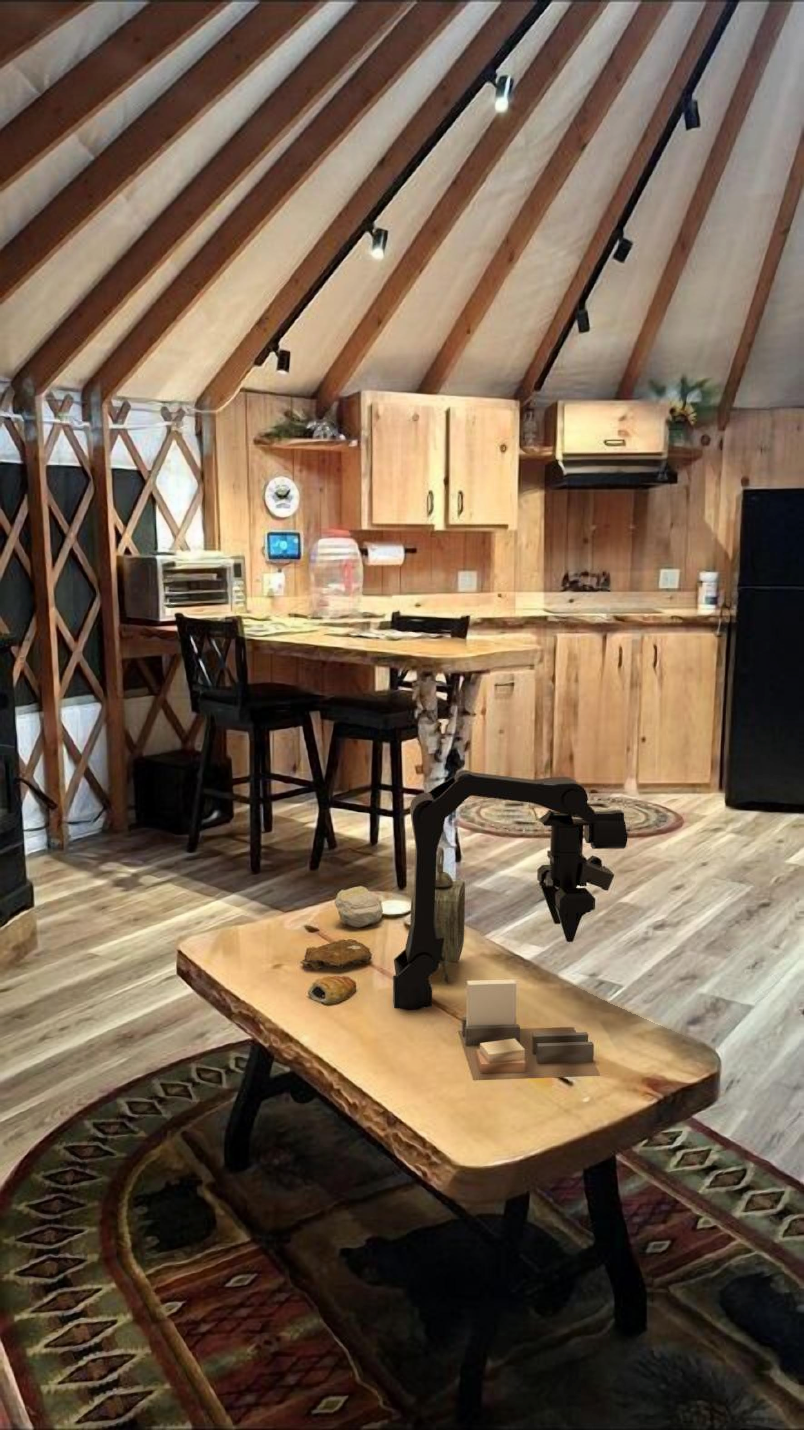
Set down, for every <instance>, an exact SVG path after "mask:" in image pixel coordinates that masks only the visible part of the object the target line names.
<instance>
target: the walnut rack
mask: <svg viewBox="0 0 804 1430" xmlns="http://www.w3.org/2000/svg"><path fill="white" fill-rule="evenodd" d="M466 1017H467V1016H463V1017H462V1018H461V1020H462V1021H461V1024H462V1025H461V1030H457V1032H458V1035H459V1039H460V1042H461V1045H462V1049H463V1052H464V1055H465V1057H466V1061H467V1065H468V1068H469V1071H470V1074H471V1077H472V1080H473V1081H488V1080H489V1081H491V1080H494V1081H495V1080H517V1079H518V1080H519V1079H523V1080H524V1079H544V1078H545V1079H546V1078H574V1077H600V1076H602V1075H601V1073H600V1071H599V1070H598V1068H597V1066H596V1065H595V1062H594V1056H595V1055H594V1054H595V1053H594V1052H595V1051H594V1050H595V1049H594V1048H595V1045H594V1044H595V1043H594V1042H593V1041H589V1034H588V1032H587V1031H582V1032H581V1031H579V1032H577V1031H576V1029H575V1027H574V1026H566V1027H565V1026H563V1027H562V1026H561V1027H560V1026H559V1027H534V1028H533V1027H532V1028H531V1027H530V1028H529V1027H528V1028H521V1026H520V1024H518V1023H517V1021H516V1022H515V1025H485V1026H466ZM507 1039H516V1040H517V1042H518V1043H519V1044H520V1045H521V1046H522V1047H523V1048H524V1049H525V1059H524V1061H525V1072H505V1073H481V1072H480V1069H479V1066H478V1063H477V1060H476V1049H480V1043H485V1042H493V1041H500V1040H507Z"/></svg>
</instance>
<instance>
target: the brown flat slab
mask: <svg viewBox="0 0 804 1430" xmlns="http://www.w3.org/2000/svg"><path fill="white" fill-rule="evenodd" d="M372 956H373V954H372V952H371V951H370V948H369V947H368V946H366V945H365V944H364V943H361V942H359V941H357V940H356V939H352V938H351V939H350V938H349V939H339V940H337V941H333V942H329V943H326V944H323V945H321V946H317V947H316V946H311V947H307V948H306V950H305V953H304V956H303V957H304V959H302V960H301V961H300V962H299V963H300V964H302V966H303V968H307V969H308V968H310V970H312V971H313V970H314V971H315V970H316V971H317V970H318V969H320V968H325V967H329V968H333V969H336V968H341V967H342V968H343V966H345V965H354V964H363V963H365V964H364V965H369V963H370V961H371V959H372Z"/></svg>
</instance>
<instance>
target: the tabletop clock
mask: <svg viewBox="0 0 804 1430" xmlns="http://www.w3.org/2000/svg"><path fill="white" fill-rule="evenodd" d="M437 853H438V854H437V859H436V886H435V914H434V927H435V928H438V927H441V930H442V934H443V937H444V943H443V948H442V955H443V959H444V961H441V960H440V964H439V966H441V969H442V971H443V973H444V976H443V981H444V982H445V984H450V983H451V982H452V981H453V978H452V977H453V976H452V975H450V974H449V972H448V970H447V965H446V964H458V963H459V961H460V959H461V956H462V951H463V948H464V943H465V923H466V922H465V921H466V919H465V915H466V910H465V909H466V884H465V883H466V882H465V881H460V880H459V881H457V880H453V878H452V877H451V874H449V872H446V871H444V861H445V859H444V858H445V855H444V854H445V851H444V849H443V848H440V849H439V850H438V852H437ZM413 903H414V892H413V893H412V897H411V901H410V921H409V922H410V926H411V923H412V920H413ZM410 926H409V927H410Z"/></svg>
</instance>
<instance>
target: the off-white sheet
mask: <svg viewBox="0 0 804 1430" xmlns="http://www.w3.org/2000/svg"><path fill="white" fill-rule="evenodd" d="M516 1012H517V982H516V980H515V979H490V980H488V979H486V980H484V979H483V980H466V1016H465V1017H466V1026H485V1025H515V1022H516V1023H517V1015H516V1014H517V1013H516Z"/></svg>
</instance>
